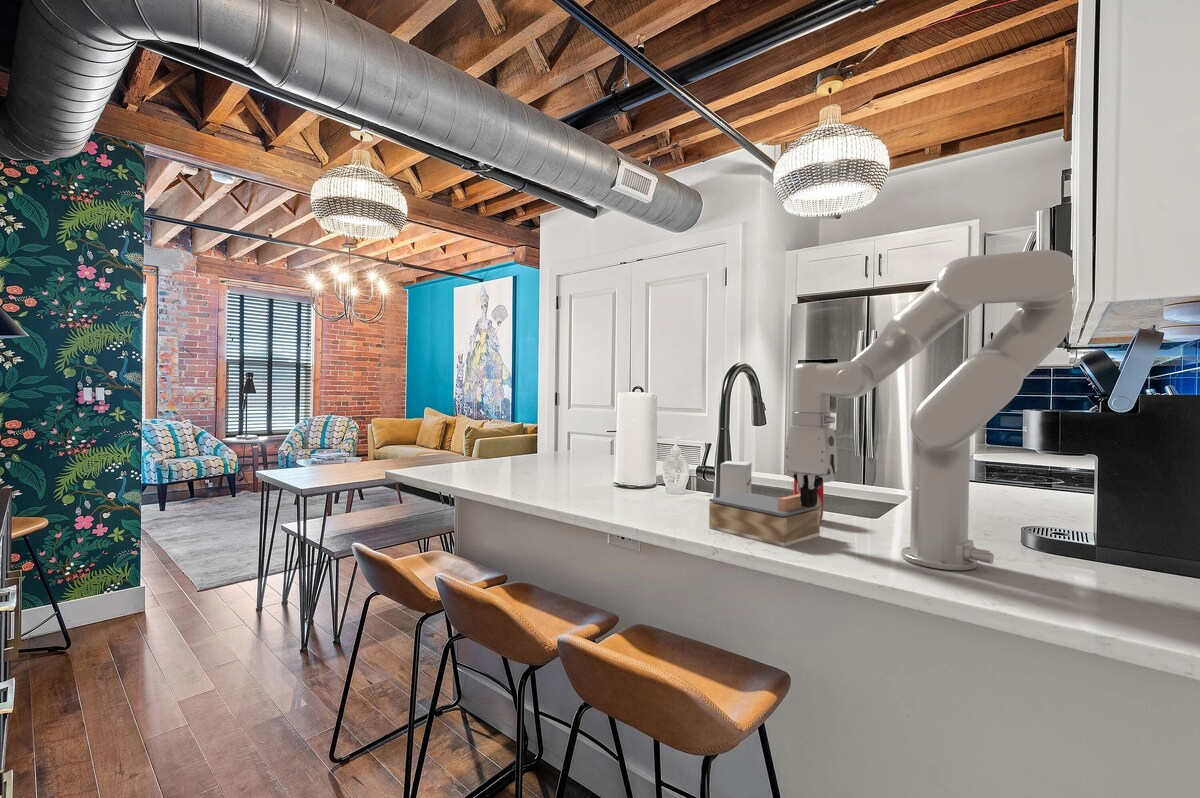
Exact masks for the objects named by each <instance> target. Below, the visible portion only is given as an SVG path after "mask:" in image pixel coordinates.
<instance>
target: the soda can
mask: <svg viewBox="0 0 1200 798" xmlns="http://www.w3.org/2000/svg"><path fill="white" fill-rule="evenodd" d="M809 478H810V474H809ZM797 494H801V488H800V487H799V486H798V483H797V482H796V480H795V479H794V478H793V494H792V495H797ZM816 505H820V508H818V509H820V521H821V520H822V519H823V517H824V515H823V514H824V483H823V484H822V485H821V486H820V487H819V488H817V503H816Z"/></svg>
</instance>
